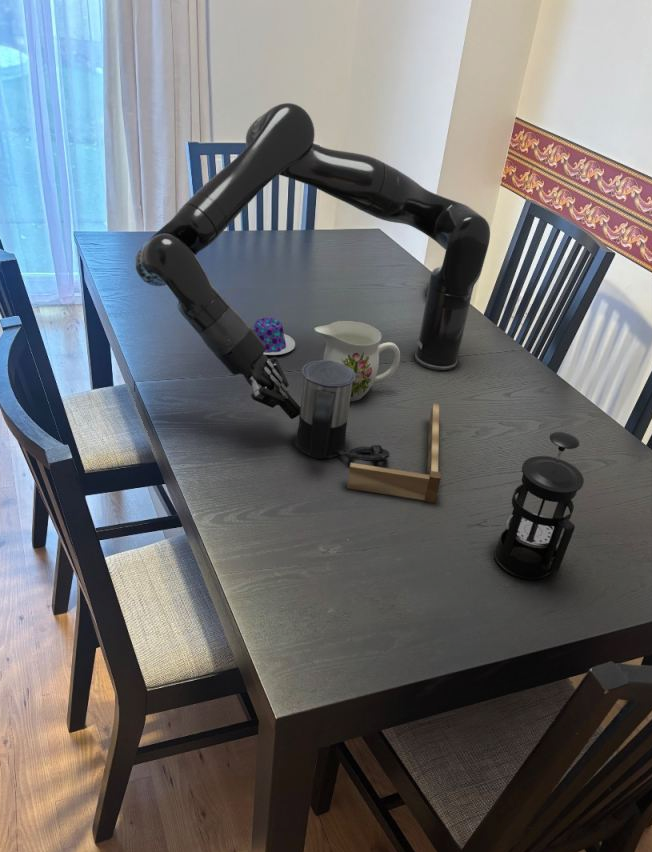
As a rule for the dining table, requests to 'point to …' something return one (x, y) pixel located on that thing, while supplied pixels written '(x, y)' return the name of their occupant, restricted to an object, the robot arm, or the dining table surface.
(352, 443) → the dining table surface
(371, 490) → the corner rail
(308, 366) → the milk frother
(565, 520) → the french press
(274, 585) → the dining table surface
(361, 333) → the pitcher
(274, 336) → the pudding
